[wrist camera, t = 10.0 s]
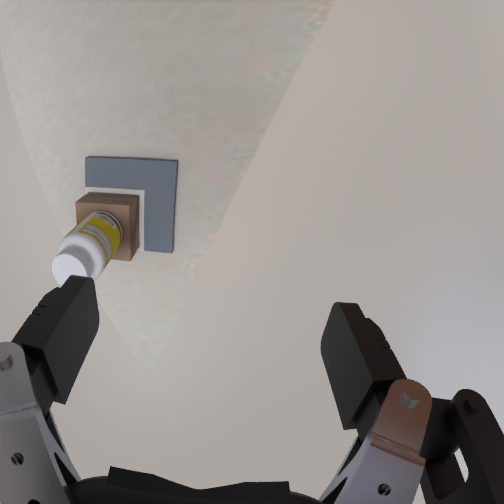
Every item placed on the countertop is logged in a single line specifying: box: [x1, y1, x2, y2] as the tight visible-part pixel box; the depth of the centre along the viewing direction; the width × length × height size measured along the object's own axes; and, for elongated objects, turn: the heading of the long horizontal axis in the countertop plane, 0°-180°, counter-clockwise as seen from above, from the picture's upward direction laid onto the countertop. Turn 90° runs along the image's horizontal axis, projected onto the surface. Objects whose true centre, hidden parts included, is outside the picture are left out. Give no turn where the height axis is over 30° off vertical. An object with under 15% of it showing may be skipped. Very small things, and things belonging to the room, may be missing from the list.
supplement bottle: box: [52, 211, 122, 286], centre depth 31 cm, size 5×5×10 cm
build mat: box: [84, 156, 178, 253], centre depth 38 cm, size 12×12×1 cm
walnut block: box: [76, 193, 139, 261], centre depth 37 cm, size 7×7×4 cm
